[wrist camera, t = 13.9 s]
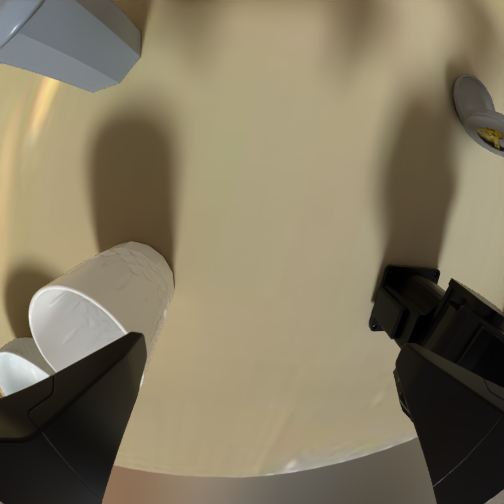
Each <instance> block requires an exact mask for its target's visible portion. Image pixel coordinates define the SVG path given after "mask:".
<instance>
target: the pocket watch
mask: <svg viewBox="0 0 504 504" xmlns="http://www.w3.org/2000/svg"><path fill="white" fill-rule="evenodd" d="M453 97H454V102H455V106H456V110H457V113H458V115H459V117H460V120H461V121H462V123H463V125H464V126H465V129H466V131H467V133H468V134H469V136H470V137H471V138H472V139H473V140H475V141H476V142H477V143H478V144H480V145H481V146H482V147H484V148H485V149H487V150H489V151H491V152H493V153H495V154H497V155H500V156H502V157H504V115H503V114H501V113H498V112H496V111H495V108H494V104H493V101H492V98H491V96H490V95H489V93H488V91H487V89H486V88H485V86H484V85H483V84H482V83H481V81H479V80H478V79H477V78H476V77H474V76H472V75H461V76H460V77H459V78H458V79H457V80H456V82H455V84H454V95H453ZM495 134H496V135H495ZM490 136H492V137H493V138H491V137H490Z"/></svg>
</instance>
